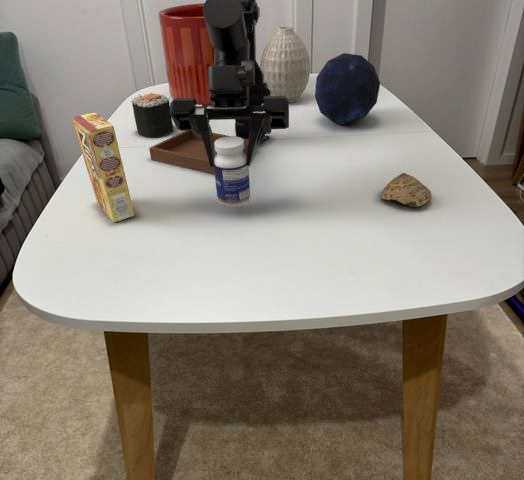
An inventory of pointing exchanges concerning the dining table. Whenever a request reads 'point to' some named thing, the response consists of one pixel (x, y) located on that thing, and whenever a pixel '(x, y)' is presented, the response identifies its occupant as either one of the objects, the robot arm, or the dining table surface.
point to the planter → (187, 52)
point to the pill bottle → (231, 172)
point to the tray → (187, 151)
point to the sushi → (152, 115)
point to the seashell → (406, 191)
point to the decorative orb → (347, 88)
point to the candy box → (104, 165)
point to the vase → (285, 64)
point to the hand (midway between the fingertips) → (229, 165)
